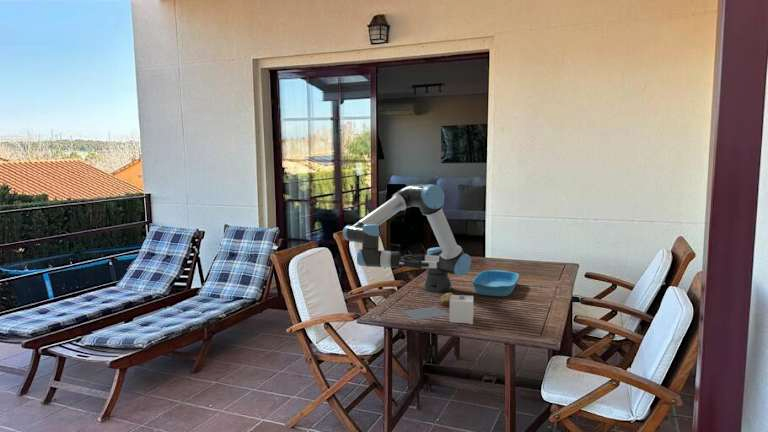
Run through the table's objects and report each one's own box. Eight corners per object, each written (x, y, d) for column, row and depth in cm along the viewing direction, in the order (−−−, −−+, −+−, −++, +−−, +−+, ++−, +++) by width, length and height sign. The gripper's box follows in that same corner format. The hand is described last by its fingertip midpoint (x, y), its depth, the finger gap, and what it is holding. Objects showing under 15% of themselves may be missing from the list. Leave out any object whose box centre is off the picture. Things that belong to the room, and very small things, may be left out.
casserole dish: (512, 300, 258) (512, 286, 257) (468, 296, 266) (468, 283, 265) (521, 283, 292) (521, 271, 291) (482, 280, 300) (482, 268, 299)
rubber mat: (435, 307, 246) (435, 306, 246) (450, 315, 234) (450, 314, 234) (401, 312, 239) (401, 311, 239) (415, 321, 226) (415, 320, 226)
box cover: (451, 316, 233) (451, 292, 231) (473, 317, 231) (473, 293, 229) (449, 323, 223) (449, 298, 222) (472, 324, 221) (472, 299, 220)
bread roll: (450, 309, 256) (444, 293, 258) (466, 303, 250) (460, 288, 251) (439, 313, 249) (433, 298, 250) (455, 308, 243) (449, 292, 244)
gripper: (395, 262, 244) (439, 264, 240) (386, 273, 220) (435, 276, 216) (395, 246, 243) (440, 248, 239) (386, 256, 219) (435, 259, 215)
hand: (437, 261), depth 227 cm, fingers open, 13 cm apart
